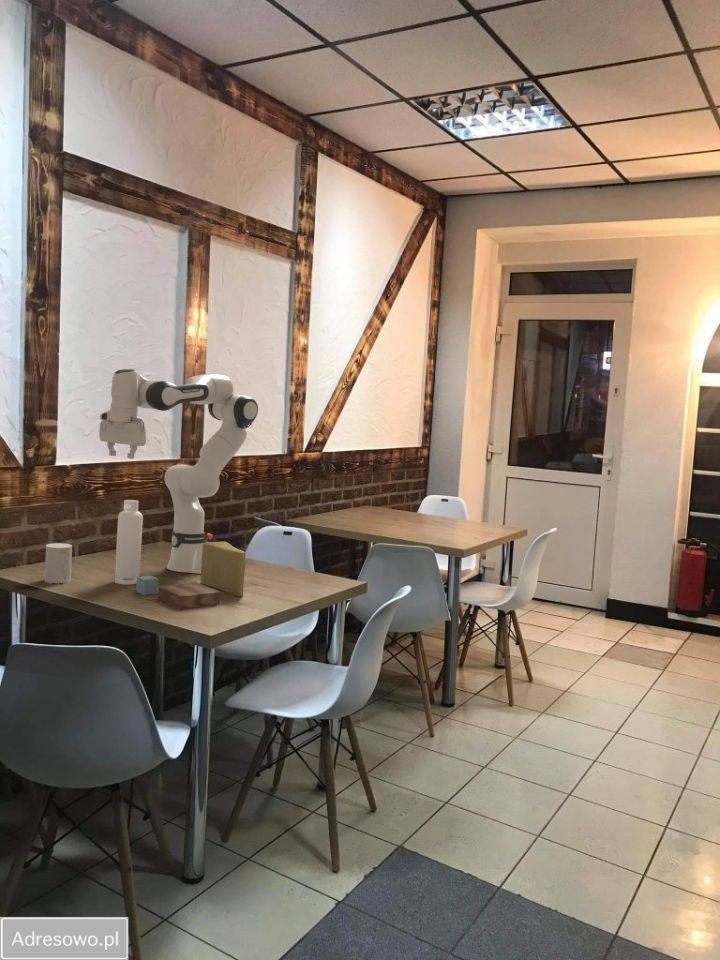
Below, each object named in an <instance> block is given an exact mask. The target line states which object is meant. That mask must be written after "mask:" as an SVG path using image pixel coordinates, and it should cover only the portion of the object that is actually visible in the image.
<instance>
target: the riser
mask: <svg viewBox="0 0 720 960" xmlns="http://www.w3.org/2000/svg"><path fill="white" fill-rule="evenodd" d="M157 600H159V601H161V602H163V603H165V604H168V605H170V606H172V607H174V608H177V609H179V610H186V609H194V608H200V607H201V608H202V607H207V606H216V605H220V600H221V591H219V590H218V589H215V588H213V587H212V588H211V587H210V586H208V585H205V584H202V583H199V582H189V583H179V584H178V583H177V584H170V585H161V586H160V585H158V593H157Z"/></svg>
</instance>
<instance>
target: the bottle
mask: <svg viewBox="0 0 720 960" xmlns="http://www.w3.org/2000/svg"><path fill="white" fill-rule="evenodd" d="M139 503H140V502H139V500H137V499H124V500H123V510H122V511H121V512H119V513H118V516H117V530H116V531H117V534H116V549H115V551H116V553H115V571H114V575H115V576H114V583H115V584H118V585H119V584H120V585H137V577H140V574H141V557H142V538H143V522H144V521H143V520H144V516H143V514H142V513H141V512H140V511H139Z"/></svg>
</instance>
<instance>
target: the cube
mask: <svg viewBox="0 0 720 960" xmlns="http://www.w3.org/2000/svg"><path fill="white" fill-rule="evenodd" d="M158 587H159V578H157V577H155V576H153V575H143V576H142V575H141V576H140V575H139V577H137V584H136V590H135V591H136V592H137V593H139V594H141V595H142V596H145V595H154V594H158Z"/></svg>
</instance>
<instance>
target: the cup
mask: <svg viewBox="0 0 720 960" xmlns="http://www.w3.org/2000/svg"><path fill="white" fill-rule="evenodd" d="M72 553H73V545H72V544H70V543H57V542H55V543H47V544H46V545H45V559H44V560H45V561H44V562H45V563H44V582H45V583H46V582H47V584H52V583H58V584H59V583H63V584H67V582H68V583H70V582H71V581H72V579H71V578H72V577H71V576H72V575H71V574H72V560H73V559H72V558H73V557H72V555H73V554H72ZM58 584H57V585H58ZM59 585H60V584H59Z"/></svg>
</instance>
